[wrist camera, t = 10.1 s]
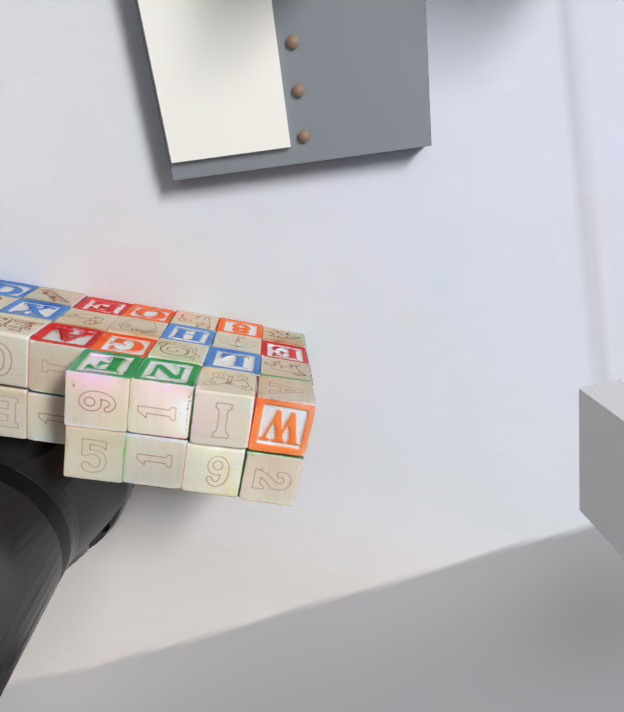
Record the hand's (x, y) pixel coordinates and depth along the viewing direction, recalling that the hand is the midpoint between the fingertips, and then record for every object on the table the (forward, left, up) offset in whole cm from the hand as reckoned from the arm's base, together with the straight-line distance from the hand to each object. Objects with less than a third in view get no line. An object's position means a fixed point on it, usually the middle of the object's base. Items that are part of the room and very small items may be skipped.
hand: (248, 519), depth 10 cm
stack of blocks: (-9, -5, -28) cm, 30 cm away
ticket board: (+3, +14, -28) cm, 31 cm away
